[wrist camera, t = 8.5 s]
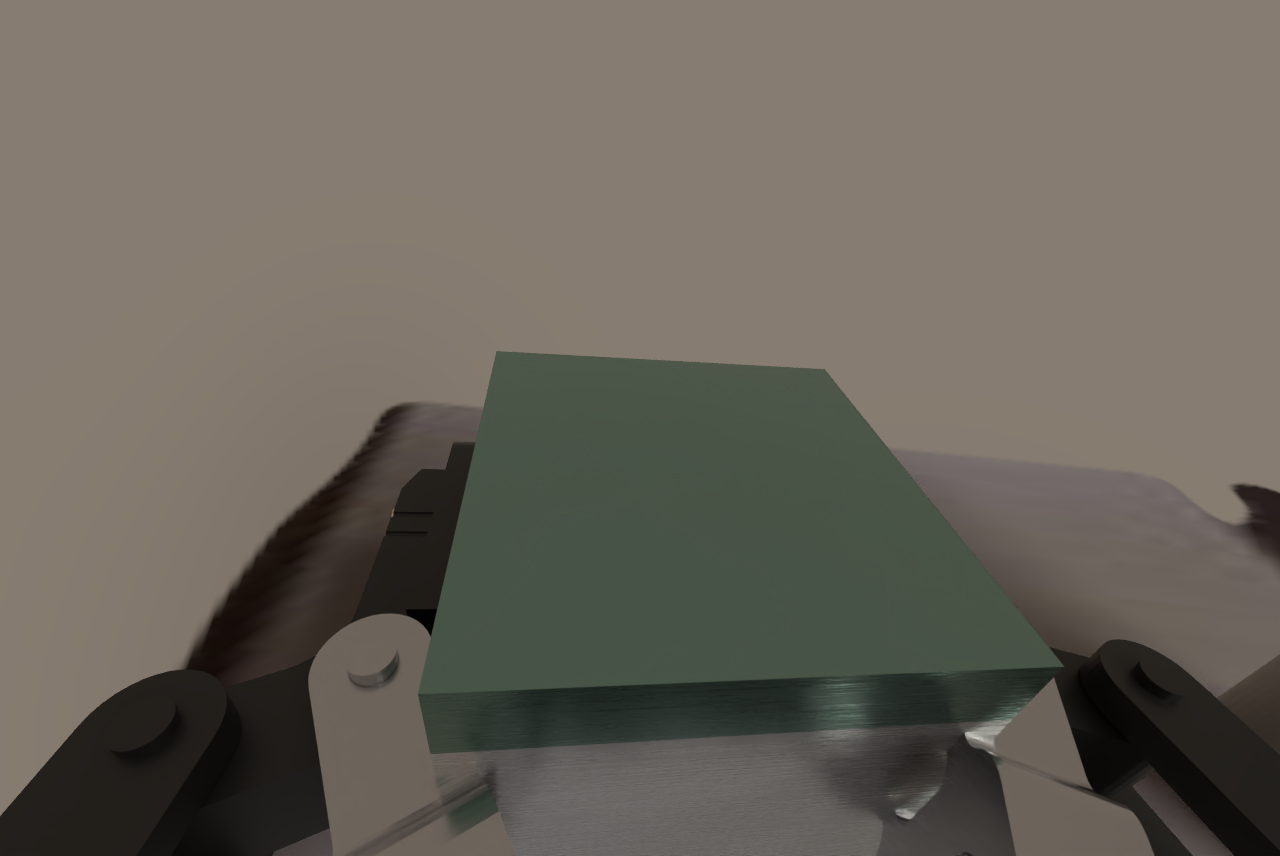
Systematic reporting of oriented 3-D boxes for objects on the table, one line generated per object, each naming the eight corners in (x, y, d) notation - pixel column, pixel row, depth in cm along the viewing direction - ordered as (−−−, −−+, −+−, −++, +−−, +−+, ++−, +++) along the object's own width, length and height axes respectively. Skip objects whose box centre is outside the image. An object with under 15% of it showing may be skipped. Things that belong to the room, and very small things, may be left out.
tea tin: (729, 639, 15) (824, 369, 10) (808, 927, 10) (1063, 666, 5) (506, 646, 14) (496, 351, 9) (474, 966, 9) (417, 694, 4)
